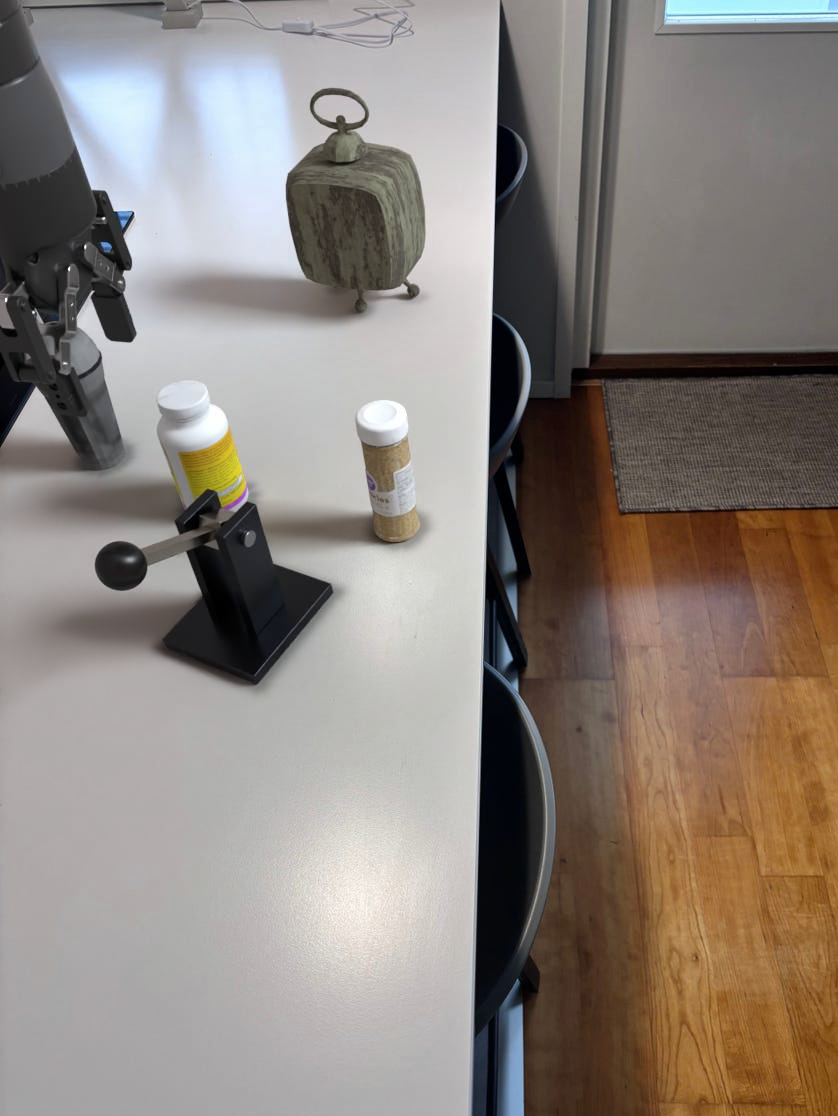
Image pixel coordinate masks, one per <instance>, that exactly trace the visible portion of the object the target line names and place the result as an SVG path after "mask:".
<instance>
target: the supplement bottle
mask: <svg viewBox="0 0 838 1116" xmlns="http://www.w3.org/2000/svg"><path fill="white" fill-rule="evenodd" d="M155 399H156V404H157V407H158V411H159V413H160V414H161V415H162V416H160V419H159V420H158V422H157V425H156V435H157V439H158V442H159V444H160V446H161V449H162V451H163V455H164V458H165V460H166V464H167V465H168V467H169V471H170V475H171V476H172V480H173V483H174V486H175V488H176V490H177V493H178V496H179V498H180V501H181V504H182V506H183V508H184V511H185V510H186V509H187V508H188V507H189V506H190V505H191V504H192V503H193V502H194V501H195V500H196V499H197V498H198V497H199V496H200V495H201V494H202V493H203V492H204V491H205V490H206V489H211V490H214V491H216V492H217V494H218V497H219V500H220V503H221V506H222V508H224V509H227V510H230V511H233V512H237V511H238V510H239V508H240V507H241V506H242V505H243V504H244V503H245V502H247V501H248V498H249V488H248V484H247V481H246V477H245V474H244V471H243V467H242V464H241V461H240V458H239V455H238V451H237V448H236V444H235V440H234V438H233V435H232V431H231V428H230V425H229V421H228V418H227V415H226V414H225V412H224V411H223V410H222V409H221V408H220V407H218V406H217V405H216V404H213V403H211V397H210V393H209V391H208V389H207V386H206V385H205V384H203V382H200V381H196V380H192V379H191V380H189V379H188V380H187V379H186V380H185V379H184V380H179V381H175V382H172V383H170V384H167V385H166V386H164V387H163V388H161V389H160V390H159V391H158V393H157V395H156V398H155Z"/></svg>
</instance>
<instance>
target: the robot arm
mask: <svg viewBox="0 0 838 1116" xmlns="http://www.w3.org/2000/svg"><path fill="white" fill-rule="evenodd" d="M65 112H66V111H65V110H64V107H63V103H62V101H61V99H60V96H59V93H58V92H57V90H56V87H55V85H54V83H53V81H52V79H51V77H50V76H49V73H48V70H47V69H46V67H45V65H44V62H43V60H42V58H41V54H40V53H39V50H38V48H37V45H36V41H35V39H34V35H33V34H32V31H31V28H30V24H29V22H28V20H27V16H26V14H25V11H24V8H23V5H22V3H21V0H0V259H1V260H2V264H3V267H4V273H5V280H6V285H5V286H4V287H3V289H1V290H0V354H1V356H2V358H3V361H4V363H5V365H6V367H7V371H8V372H9V374H10V377H11V379H12V380H13V381H14V382H19V383H33V382H34V383H42V384H43V386H44V388H45V390H46V392H47V394H48V396H49V397H50V398H49V399H50V401H51V402H52V405H53V407H54V409H55V410H56V411H57V412H58V413H61V414H62V415H66V416H76V417H85V416H86V415H87V414H88V412H89V411H90V409H91V406H90V403H89V401H88V399H87V396H86V394H85V392H84V389H83V387H82V385H81V382H80V380H79V378H78V375H77V373H76V371H75V368H74V367H71V345H70V341H71V339H72V338H74V337H75V336H76V334H77V327H78V316H77V315H78V314H77V313H78V310H79V309H80V306H81V304H82V301H83V299H84V298H85V297H87V296H89V294H90V293H91V292H92V294H91V295H90V300H91V302H92V305H93V308H94V310H95V313H96V316H97V318H98V320H99V323H100V326H101V328H102V331H103V334H104V336H105V338H106V339H107V340H109V341H110V342H117V343H129V344H130V343H132V342H134V340H135V338H136V337H137V335H138V332H137V330H136V327H135V323H134V320H133V317H132V313H131V312H130V308H129V305H128V303H127V299H126V296H125V294H124V293H125V291H126V287H127V285H126V279H125V276H123V275H124V272H125V271H126V272H128V271H131V270H132V267H133V257H132V255H131V252H130V250H129V247H128V244H127V242H126V240H125V236H124V234H123V231H122V229H121V226H120V223H119V220H118V218H117V215H116V213H115V210H114V208H113V205H112V201H111V199H110V197H109V195H108V192H107V191H106V190H103V189H102V190H101V189H92V187H91V183H90V181H89V178H88V175H87V172H86V169H85V167H84V164H83V161H82V158H81V154H80V152H79V150H78V147H77V144H76V141H75V138H74V136H73V133H72V130H71V127H70V124H69V121H68V119H67V115H66V113H65ZM102 243H107V244H109V246H111V247H110V248H111V249H112V251H105V248H104V246H103V245H102ZM35 309H36V311H37V312H38V311H39V312H40V313H42V314H45V315H52V316H53V315H54V316H59V318H58V320H57V321H58V322H57V323H56V324H45V323H44V324H41V323H39V322H38V321H37V319H36V317H37V312H36V311H35ZM44 336H51V337H52V338H53V340H54V355H49V353H48V350H47V348H46V345H45V343H44V340H43V337H44ZM24 353H26V357H27V360H26V361H25V358H24V357H23V354H24ZM34 383H33V384H34Z"/></svg>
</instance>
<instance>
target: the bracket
mask: <svg viewBox="0 0 838 1116" xmlns="http://www.w3.org/2000/svg"><path fill="white" fill-rule="evenodd" d="M220 508H222V506H221V503H220V500H219V497H218V494H217V492H216V491H214V490H211V489H206V490H205V491H204V492H203V493H202V494H201V495H200V496H199V497H198V498H197V499H196V500H195V501H194V502H193V503H192V504H191V505H190V506H189V507H188V508H187V509H186V510H185V509H184V510H183V511H182V512H181V513H180V514H179V515H178V516H177V517H176V518H175V519H174V524H175V527H176V529H177V532H178V535H180V534H183V533H186V532H189V531H192V530H194V529H197V528H199V516H200V515H203V514H205V513H208V512H211V511H214V510H217V509H220ZM214 536H215V539H216V542H217V545H218V547H219V550H217V549H214V548H212V547H209V546H206V545H201V546H199V547H196V548H193V549H191V550H188V551H186V552H185V554H186V556H187V559H188V561H189V564H190V567H191V568H192V571H193V574H194V577H195V580H196V583H197V586H198V587H199V590H200V592H201V593H200V594H201V595H202V596H201V597H200V598H199V599H198V600H197V601H196V603H194V605H193V606H192V607H191V608H190V609H189V610H188V611H187V612H186V613H185V614H184V615H183V617H181V619H179V620H178V622H177V623H176V624H175V625H174V626H173V627H172V628H170V630H169V631H168V632H167V633H166V635H164V636H163V638H162V639H161V641H162V643H163V645H164V647H165V649H167V650H169V651H173V652H175V653H178V654H180V655H182V656H185V657H187V658H190V659H192V660H194V661H198V662H200V663H202V664H204V665H206V666H210V667H211V668H215V669H217V670H220V671H222V672H225V673H227V674H230V675H232V676H234V677H236V678H240V679H242V680H244V681H247V682H249V683H252V684H255V685H259V683H260V682H261V681H262V680H263V679H264V677H265V676H266V675H267V674H268V672H269V671H270V670H271V669H272V668H273V666H274V665H275V664H276V663H277V662H278V660H279V659H280V658H281V657H282V656H283V655H284V653H285V652H286V651H287V650H288V648H289V647H290V646H291V644H293V642H294V641H295V640H296V639H297V637H298V636H300V634H301V633H302V631H303V630H304V629H305V628H306V626H307V625H308V624H309V623H310V622H311V620H312V619H313V618H314V617H315V616H316V614H317V613H318V612H319V611H320V609H322V608H323V606H324V605H325V603H327V601H328V600H329V598H330V597H332V596H333V594H334V589H333V585H332V583H330V582H328V581H324V580H322V579H319V578H316V577H313V576H310V575H307V574H304V573H301V572H299V571H295V570H293V569H290V568H287V567H284V566H281V565H279V564H276V563H274V560H273V557H272V554H271V550H270V547H269V543H268V540H267V537H266V533H265V530H264V526H263V523H262V519H261V516H260V512H259V510H258V506H257V504H256V503H253V502H251V501H248V500H247V501H246V502H245V503H244V504H243V505H242V506H241V507H240V508H239V510H238V511H237V512H236V513H235V514H234V515H233V516H232V517H231V518H230V519H229V520H228V521H227V522H226V523H225V524H224V525H223V526H222V527H221V528H220V529H219V530H218V531H217V532H216V533H215V534H214Z"/></svg>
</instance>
